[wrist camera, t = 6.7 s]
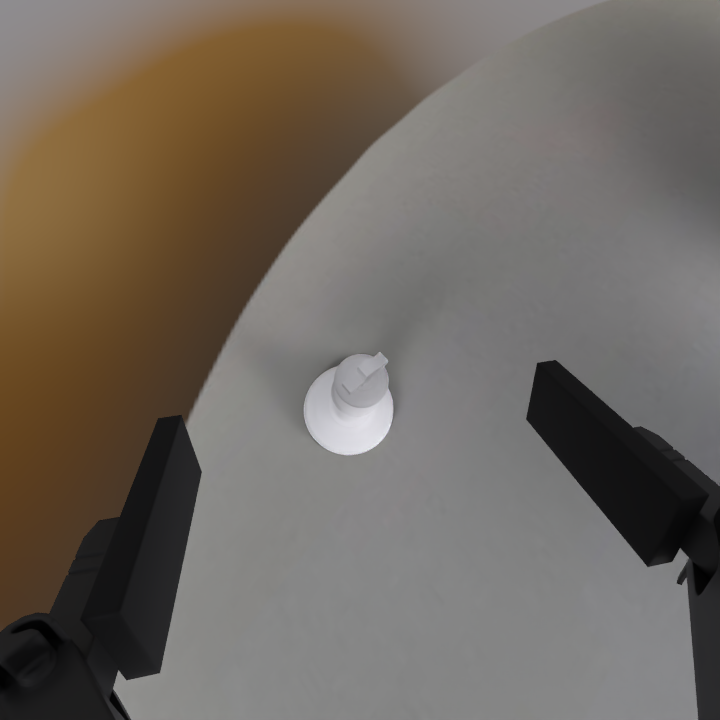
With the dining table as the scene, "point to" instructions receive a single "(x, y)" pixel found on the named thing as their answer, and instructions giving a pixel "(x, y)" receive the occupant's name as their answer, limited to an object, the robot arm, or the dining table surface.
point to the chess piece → (350, 405)
